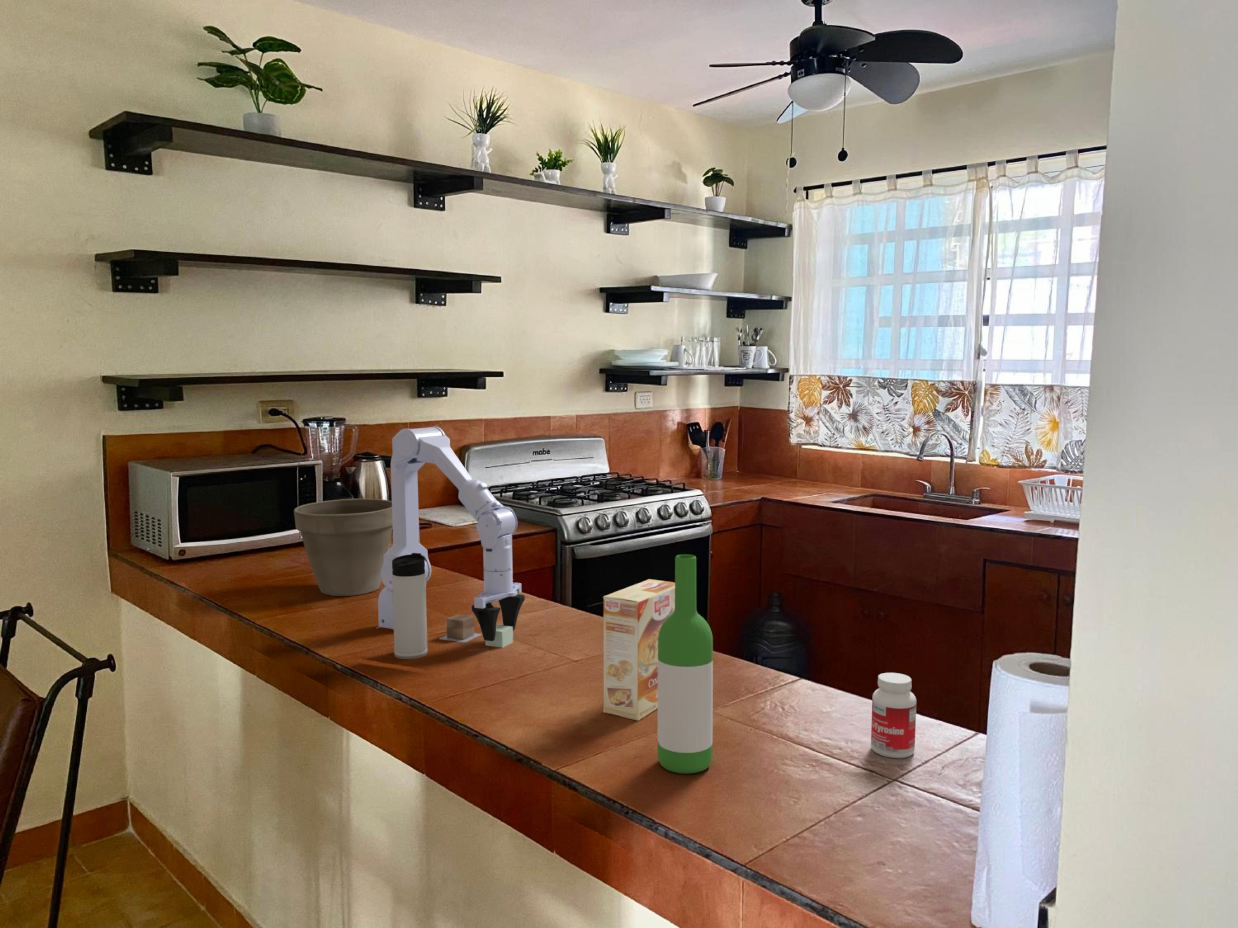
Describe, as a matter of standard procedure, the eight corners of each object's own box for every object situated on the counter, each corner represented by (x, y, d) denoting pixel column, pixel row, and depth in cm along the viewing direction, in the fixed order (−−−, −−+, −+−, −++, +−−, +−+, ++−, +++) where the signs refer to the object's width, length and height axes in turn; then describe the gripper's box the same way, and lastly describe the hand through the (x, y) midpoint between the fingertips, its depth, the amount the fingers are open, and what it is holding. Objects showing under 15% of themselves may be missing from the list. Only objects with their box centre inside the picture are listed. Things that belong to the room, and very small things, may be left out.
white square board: (419, 643, 191) (419, 640, 191) (453, 628, 201) (453, 625, 201) (468, 651, 186) (468, 647, 186) (501, 635, 196) (500, 632, 196)
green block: (485, 648, 187) (485, 629, 187) (496, 643, 191) (495, 624, 191) (502, 651, 186) (502, 631, 185) (513, 645, 189) (512, 626, 189)
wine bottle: (708, 752, 136) (710, 550, 133) (716, 775, 129) (717, 561, 126) (655, 753, 136) (655, 550, 133) (659, 776, 128) (659, 562, 125)
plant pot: (322, 607, 220) (319, 516, 218) (281, 589, 238) (278, 504, 236) (417, 590, 236) (415, 505, 234) (372, 574, 255) (369, 495, 253)
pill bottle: (863, 751, 137) (865, 678, 135) (881, 738, 141) (883, 667, 140) (904, 763, 133) (906, 687, 131) (921, 749, 137) (923, 676, 136)
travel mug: (434, 653, 184) (431, 553, 182) (416, 663, 178) (413, 560, 176) (406, 650, 186) (403, 551, 184) (388, 660, 180) (385, 558, 178)
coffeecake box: (639, 721, 149) (638, 601, 147) (601, 712, 152) (600, 595, 150) (683, 693, 161) (683, 582, 159) (647, 686, 165) (647, 577, 163)
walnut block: (447, 637, 192) (446, 618, 192) (458, 632, 196) (457, 614, 196) (463, 640, 191) (462, 620, 190) (474, 634, 194) (473, 616, 194)
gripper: (495, 577, 179) (497, 647, 180) (533, 563, 192) (534, 628, 193) (464, 574, 181) (466, 642, 183) (504, 560, 195) (505, 624, 196)
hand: (499, 635), depth 188 cm, fingers open, 7 cm apart
